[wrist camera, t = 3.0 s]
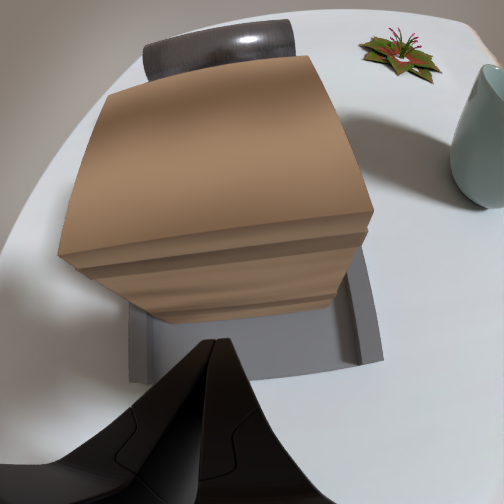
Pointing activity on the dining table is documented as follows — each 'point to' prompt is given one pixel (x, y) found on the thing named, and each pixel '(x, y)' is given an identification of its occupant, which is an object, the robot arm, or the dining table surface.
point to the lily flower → (401, 55)
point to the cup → (481, 141)
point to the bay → (266, 327)
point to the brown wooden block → (219, 194)
